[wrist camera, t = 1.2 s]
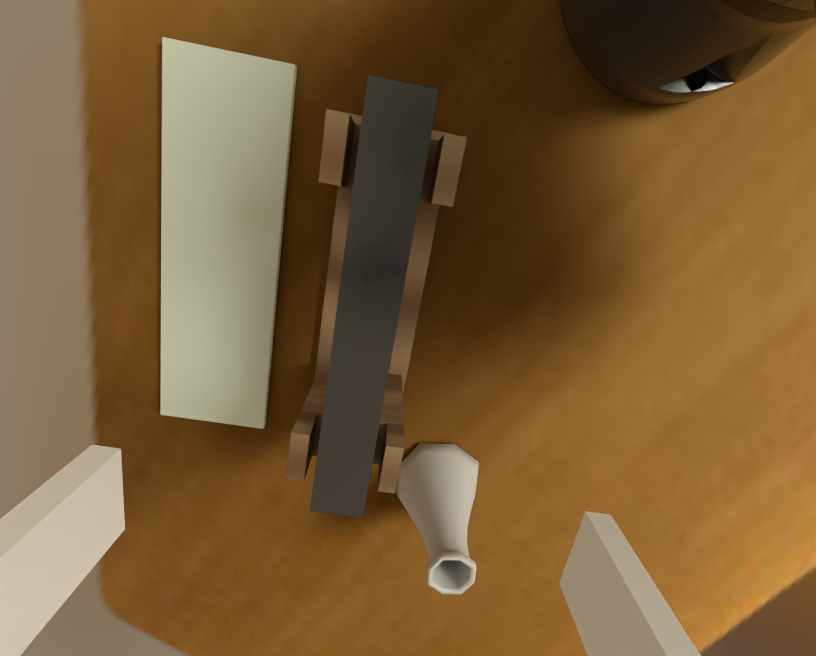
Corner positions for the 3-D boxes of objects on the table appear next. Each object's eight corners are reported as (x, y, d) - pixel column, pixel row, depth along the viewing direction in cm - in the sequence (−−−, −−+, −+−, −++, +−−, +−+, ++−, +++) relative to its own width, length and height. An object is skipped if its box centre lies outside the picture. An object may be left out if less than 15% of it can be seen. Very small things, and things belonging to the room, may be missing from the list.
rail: (371, 91, 20) (367, 74, 17) (433, 104, 20) (439, 89, 17) (319, 477, 26) (309, 511, 24) (366, 483, 27) (362, 517, 24)
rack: (347, 114, 28) (320, 67, 18) (452, 135, 28) (483, 101, 18) (311, 410, 34) (276, 500, 24) (396, 422, 34) (397, 515, 24)
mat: (167, 40, 26) (162, 36, 25) (297, 67, 27) (294, 64, 26) (164, 410, 34) (160, 414, 33) (265, 424, 34) (263, 428, 34)
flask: (383, 497, 37) (378, 602, 27) (413, 428, 35) (420, 516, 25) (458, 520, 38) (480, 629, 28) (492, 454, 36) (527, 549, 26)
